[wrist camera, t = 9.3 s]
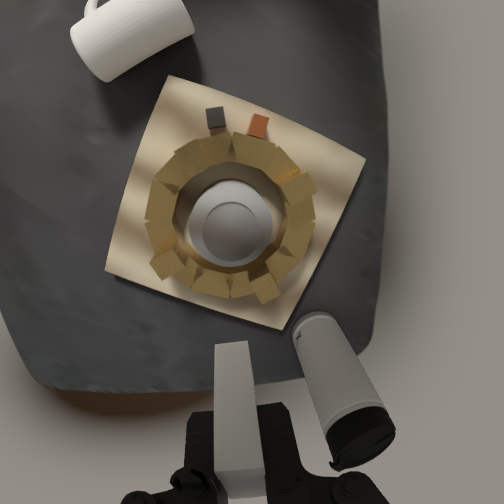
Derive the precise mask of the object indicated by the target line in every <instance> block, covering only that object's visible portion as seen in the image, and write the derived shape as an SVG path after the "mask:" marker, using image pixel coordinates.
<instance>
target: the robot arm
mask: <svg viewBox="0 0 504 504" xmlns="http://www.w3.org/2000/svg"><path fill="white" fill-rule="evenodd" d="M186 434H187V435H186V444H185V459H184V467H183V468H181V469H179V470H177V471H176V472H175V473H174V474H173V475H172V476H171V479H170V483H171V485H172V486H173V487H174V488H173V489H171V490H168V491H165V492H161V493H156V494H149V493H147V492H144V491H134V492H131V493H129V494H127V495H126V496H125V497H124V499H123V500H122V502H121V504H228V498H229V499H239V498H250V497H260V496H267V502H268V504H389V502H388V501H387V500H386V498H385V497H384V496H383V495H382V493H381V492H380V491H379V489H378V488H377V487H376V485H375V484H374V483H373V481H372V480H371V479H370V478H369V477H368V476H367V475H366V474H364V473H361V472H357V471H354V472H352V471H351V472H347V473H344V474H342V475H340V476H339V477H322V476H316V475H313V474H311V473H309V472H308V471H306V470H305V469H304V467H303V466H302V463H301V460H300V456H299V452H298V448H297V443H296V439H295V435H294V431H293V426H292V423H291V418H290V413H289V410H288V409H287V408H286V407H285V406H284V405H283V403H282V402H279V403H271V404H265V405H257V401H256V393H255V386H254V378H253V372H252V366H251V360H250V353H249V347H248V341H240V342H232V343H224V344H215V365H214V411H205V412H193V413H192V415H191V416H190V418H189V420H188V422H187V431H186Z"/></svg>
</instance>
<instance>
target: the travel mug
mask: <svg viewBox="0 0 504 504" xmlns="http://www.w3.org/2000/svg"><path fill="white" fill-rule="evenodd" d="M292 340H293V343H294V346H295V349H296V352H297V355H298V358H299V361H300V364H301V367H302V370H303V373H304V376H305V379H306V381H307V385H308V387H309V391H310V394H311V396H312V400H313V403H314V406H315V409H316V412H317V415H318V418H319V421H320V424H321V427H322V430H323V433H324V436H325V439H326V441H327V443H328V446H329V449H330V452H331V455H332V458H333V463H332V462H331V461H330V462H329V464H330V466H331V468H332V469H334V470H336V471H338V472H340V471H342V470H344V469H348V468H353V467H357V466H360V465H362V464H364V463H366V462H368V461H370V460H372V459H374V458H375V457H377V456H378V455H379V454H381V453H382V452H383V451H384V450H385V449H386V448H387V447H388V446H389V445H390V444H391V443H392V441H393V440H394V438H395V434H396V433H395V430H396V428H395V426H394V424H393V422H392V420H391V418H390V417H389V414H388V412H387V410H386V408H385V406H384V404H383V402H382V400H381V399H380V397H379V395H378V393H377V391H376V390H375V388H374V386H373V384H372V382H371V381H370V379H369V377H368V375H367V373H366V372H365V370H364V368H363V366H362V365H361V363H360V361H359V359H358V358H357V356H356V354H355V352H354V351H353V349H352V347H351V346H350V344H349V342H348V340H347V339H346V337H345V335H344V334H343V332H342V330H341V328H340V327H339V325H338V323H337V322H336V320H335V318H334V317H333V316H332V315H331V314H329V313H327V312H323V311H315V312H311V313H308V314H306V315H304V316H303V317H301V318H300V319H299V320H298V321H297V322H296V323H295V325H294V327H293V329H292Z"/></svg>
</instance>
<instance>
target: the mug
mask: <svg viewBox="0 0 504 504" xmlns="http://www.w3.org/2000/svg"><path fill="white" fill-rule="evenodd" d="M97 2H98V0H88V2H87V4H86V7H85V11H84V18H83V19H82V20H80V21H79V22H78V23H76V24H75V25H73V26H72V27H71V30H70V35H71V39H72V42H73V44H74V46H75V48H76V50H77V52H78V54H79V55H80V57H81V59H82V60H83V61H84V63H85V64H86V65H87V67H88V68H89V69H90V70H91V71H92V72H93V73H94V75H96V76H97V77H98V78H99V79H100V80H102V81H104V82H110V81H112V80H113V79H115V78H116V77H118V76H119V75H121V74H122V73H124V72H125V71H127V70H129V69H130V68H132V67H133V66H135V65H137V64H138V63H140V62H141V61H143V60H145V59H147V58H148V57H150V56H152V55H153V54H155V53H157V52H159V51H161V50H162V49H164V48H166V47H168V46H170V45H172V44H174V43H176V42H177V41H179V40H181V39H183V38H185V37H187V36H190V35H192V34H193V33H194V32H195V30H194V26H193V23H192V21H191V18H190V16H189V14H188V12H187V10H186V8H185V6H184V4H183V2H182V0H110V1H109V2H107V3H106V4H104V5H102V6H101V7H99V8H98V9H97Z"/></svg>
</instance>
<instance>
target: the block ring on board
mask: <svg viewBox="0 0 504 504" xmlns="http://www.w3.org/2000/svg"><path fill="white" fill-rule="evenodd" d="M254 113H256V114H259V115H262V116H266V117H269V121H268V124H267V128H266V131H265V134H264V137H263V139H262V140H265V141H269V142H272V143H275V146H280V147H281V148H282V150H283V151H284V152H285V153H286V154H287V155H288V156H289V157H290V158H291V159H292V160H293V162H294V163H295V164H296V165H297V166H298V167H299V168H300V169H302V170H305V171H308V173H309V175H310V177H311V179H312V181H313V183H314V185H315V187H316V189H317V191H318V193H316V194H314V195H312V200H313V205H314V211H315V216H316V220H313V221H314V222H315V223H316V224H315V227H314V230H313V232H312V235H311V238H310V241H309V244H308V246H307V249H306V252H305V255H304V257H303V260H302V259H299V261H300V264H298V265H297V266H296V267H295V268H294V269H293V270H292V271H291V272H289V273H288V274H287V275H286V276H285V277H284V278H283V279H282V280H280V281H279V282H278V283H277V284H278V287H279V289H280V292H281V295H280V296H278V297H276V298H274V299H272V300H270V301H268V302H266V303H264V304H262V303H261V302H260V300H259V298H258V297H257V295H256V293H253V294H249V295H245V296H241V297H237V298H233V299H232V297H231V294H230V295H229V298H228V299H227V298H223V297H218V296H214V295H210V294H205V293H201V292H197V291H193V290H191V289H192V285H191V286H190V287H189V288H187V287H186V286H185V285H183V284H182V283H181V282H180V281H179V280H178V279H176V278H175V277H174V276H173V275H171V276H170V277H168V278H166V279H165V280H163V281H161V279H160V278H159V276H158V275H157V274H156V272H155V271H154V270H153V268H152V267H151V265H150V264H149V262H150V261H151V259H152V257H153V256H154V254H155V253H154V250H153V247H152V244H151V241H150V239H149V236H148V233H147V230H146V227H145V224H144V223H145V222H146V221H147V220H145V219H144V217H145V212H146V207H147V202H148V198H149V193H150V188H151V184H152V180H153V179H155V178H156V177H155V175H156V174H157V172H158V171H159V170H160V169H161V168H162V167H163V166H164V165H165V164H166V163H167V162H168V161H169V160H170V159H171V158H172V157H173V155H174V154H175V153H174V151H175V150H177V149H178V148H180V147H182V146H183V145H185V144H187V143H188V142H191V141H192V140H194V139H198V140H199V139H202V138H206V137H210V136H214V135H217V134H221V133H225V132H229V131H230V134H231V138H232V135H233V132H238V133H241V134H245V135H246V133H247V129H248V126H249V123H250V120H251V117H252V115H253V114H254ZM365 161H366V159H365V158H363V157H362V156H360V155H358V154H356V153H354V152H353V151H351V150H349V149H347V148H345V147H343V146H342V145H340V144H338V143H336V142H334V141H332V140H330V139H328V138H326V137H324V136H322V135H320V134H318V133H316V132H314V131H312V130H310V129H308V128H306V127H304V126H302V125H300V124H298V123H295V122H293V121H291V120H289V119H287V118H284V117H282V116H280V115H278V114H275V113H273V112H271V111H268V110H266V109H264V108H261V107H259V106H256V105H254V104H252V103H249V102H247V101H244V100H241V99H239V98H236V97H234V96H231V95H228V94H226V93H223V92H220V91H217V90H214V89H212V88H209V87H206V86H203V85H200V84H197V83H194V82H191V81H187V80H184V79H181V78H178V77H174V76H171V75H169V76H168V78H167V80H166V82H165V84H164V87H163V89H162V91H161V93H160V96H159V98H158V100H157V103H156V105H155V107H154V110H153V112H152V115H151V117H150V120H149V122H148V125H147V127H146V130H145V133H144V135H143V138H142V141H141V143H140V146H139V149H138V152H137V155H136V158H135V161H134V164H133V167H132V170H131V173H130V176H129V179H128V182H127V185H126V189H125V192H124V195H123V199H122V202H121V206H120V209H119V213H118V217H117V220H116V224H115V228H114V232H113V236H112V240H111V244H110V249H109V253H108V258H107V262H106V267H105V271H107V272H110V273H112V274H115V275H118V276H120V277H123V278H125V279H128V280H131V281H133V282H136V283H139V284H141V285H144V286H147V287H149V288H152V289H155V290H158V291H161V292H163V293H166V294H169V295H172V296H175V297H178V298H180V299H183V300H186V301H189V302H192V303H195V304H198V305H201V306H204V307H207V308H210V309H213V310H216V311H220V312H223V313H226V314H229V315H232V316H235V317H239V318H242V319H245V320H249V321H252V322H255V323H259V324H262V325H265V326H269V327H272V328H276V329H279V330H283V328H284V326H285V324H286V323H287V321H288V319H289V317H290V315H291V313H292V312H293V310H294V308H295V306H296V304H297V302H298V300H299V298H300V297H301V295H302V293H303V291H304V289H305V287H306V285H307V283H308V281H309V279H310V277H311V275H312V273H313V272H314V270H315V268H316V266H317V264H318V262H319V260H320V258H321V256H322V254H323V252H324V250H325V248H326V246H327V243H328V241H329V239H330V237H331V235H332V233H333V231H334V229H335V227H336V225H337V223H338V221H339V219H340V216H341V214H342V212H343V210H344V208H345V206H346V203H347V201H348V199H349V197H350V195H351V193H352V190H353V188H354V186H355V184H356V181H357V179H358V177H359V175H360V172H361V170H362V168H363V165H364V163H365ZM283 215H284V214H283V210H282V205H281V200H280V196H279V191H278V188H277V187H276V186H275V184H274V183H273V182H272V181H271V180H270V179H269V178H268V177H267V176H266V175H265V174H264V173H263V172H262V171H261V170H260V169H258V168H254V167H251V166H247V165H244V164H240V163H237V162H233V161H229V162H225V163H221V164H218V165H214V166H211V167H209V168H208V169H206V170H204V171H202V172H200V173H199V174H197V175H195V176H193V177H192V178H191V179H190V180H189V181H188V182H187V183H186V184H185V185H184V186H183V188H182V191H181V196H180V200H179V204H178V208H177V212H176V216H177V219H178V223H179V226H180V229H181V232H182V235H183V238H184V241H186V242H187V243H188V244H189V245H190V246H191V247H192V248H193V249H194V250H195V251H196V252H197V253H199V254H200V255H201V256H202V257H203V258H205V259H206V260H208V261H210V262H212V263H214V264H216V265H220V266H225V267H235V266H241V265H244V264H247V263H249V262H251V261H253V260H255V259H256V258H257V257H258V256H260V255H261V254H262V253H263V251H264V250H265V249H266V248H267V247H268V246H269V245H270V244H271V243H272V242H273V241H275V239H276V236H277V233H278V230H279V227H280V224H281V221H282V218H283Z"/></svg>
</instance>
